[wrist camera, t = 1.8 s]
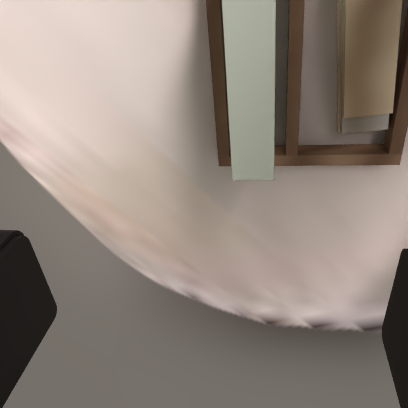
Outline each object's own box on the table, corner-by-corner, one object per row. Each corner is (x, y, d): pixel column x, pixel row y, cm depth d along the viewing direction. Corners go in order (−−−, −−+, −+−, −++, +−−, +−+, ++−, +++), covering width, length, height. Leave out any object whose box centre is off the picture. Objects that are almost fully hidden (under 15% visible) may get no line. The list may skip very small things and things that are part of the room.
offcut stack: (398, -71, 26) (411, -72, 24) (384, 123, 34) (393, 137, 31) (337, -58, 27) (343, -59, 25) (336, 128, 35) (341, 142, 32)
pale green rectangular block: (276, -54, 28) (276, -53, 20) (274, 130, 35) (273, 179, 28) (234, -50, 28) (219, -47, 21) (241, 131, 36) (232, 179, 28)
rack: (447, -120, 24) (459, -125, 23) (393, 154, 35) (399, 164, 33) (203, -90, 27) (198, -92, 25) (221, 156, 37) (219, 166, 36)
